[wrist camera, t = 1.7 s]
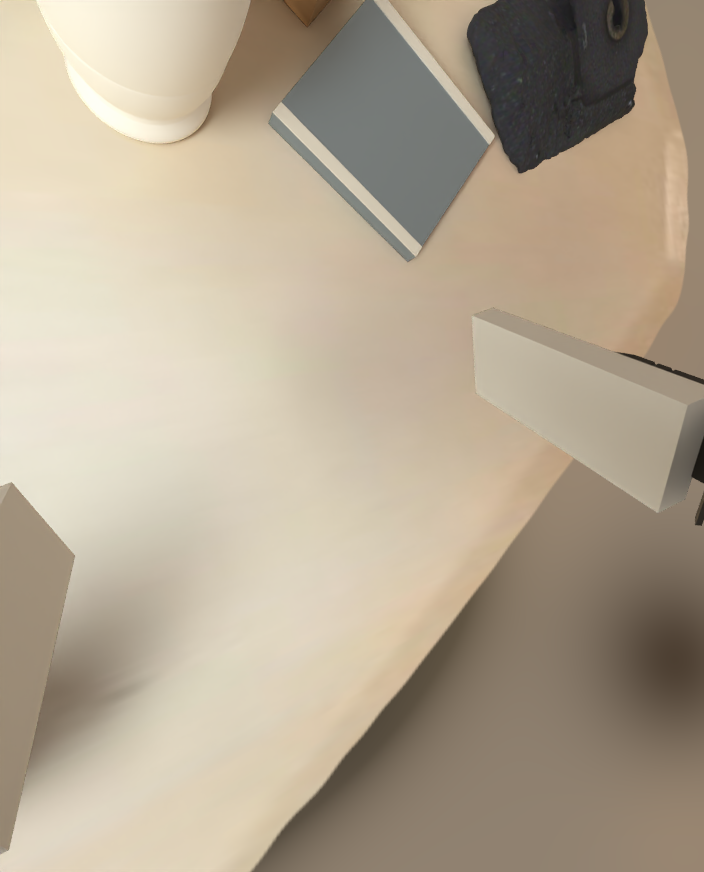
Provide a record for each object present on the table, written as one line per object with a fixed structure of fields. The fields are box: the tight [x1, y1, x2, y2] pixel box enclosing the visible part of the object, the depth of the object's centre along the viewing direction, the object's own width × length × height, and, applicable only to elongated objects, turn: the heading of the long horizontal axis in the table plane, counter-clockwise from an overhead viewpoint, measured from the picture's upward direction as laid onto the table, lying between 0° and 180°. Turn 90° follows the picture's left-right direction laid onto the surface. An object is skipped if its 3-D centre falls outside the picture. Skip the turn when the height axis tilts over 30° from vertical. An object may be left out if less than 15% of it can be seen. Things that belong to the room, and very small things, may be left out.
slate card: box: [268, 0, 495, 262], centre depth 34 cm, size 14×14×1 cm
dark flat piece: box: [467, 0, 648, 173], centre depth 40 cm, size 15×22×5 cm
